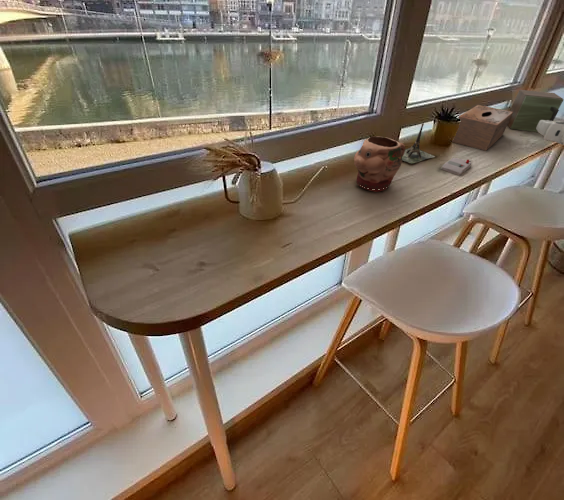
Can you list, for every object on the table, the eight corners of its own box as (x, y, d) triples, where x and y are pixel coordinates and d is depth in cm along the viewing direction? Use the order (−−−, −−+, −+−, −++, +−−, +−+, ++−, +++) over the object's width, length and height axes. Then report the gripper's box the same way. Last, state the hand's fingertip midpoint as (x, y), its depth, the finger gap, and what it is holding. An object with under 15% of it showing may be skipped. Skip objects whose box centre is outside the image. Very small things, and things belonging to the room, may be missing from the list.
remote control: (438, 170, 113) (441, 162, 111) (455, 158, 122) (459, 150, 120) (457, 177, 109) (461, 168, 107) (474, 164, 118) (477, 156, 116)
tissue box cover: (486, 150, 129) (497, 125, 123) (449, 141, 136) (458, 116, 130) (502, 135, 144) (513, 111, 138) (469, 127, 152) (477, 104, 145)
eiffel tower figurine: (413, 148, 129) (423, 112, 120) (435, 156, 123) (448, 120, 114) (388, 155, 122) (397, 119, 113) (411, 165, 115) (422, 127, 107)
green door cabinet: (544, 132, 150) (563, 98, 141) (510, 128, 153) (525, 95, 144) (537, 125, 158) (554, 92, 149) (504, 121, 161) (519, 89, 152)
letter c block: (549, 136, 145) (568, 102, 136) (513, 132, 148) (529, 99, 139) (545, 132, 149) (563, 99, 141) (510, 128, 152) (525, 95, 144)
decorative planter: (380, 169, 112) (389, 128, 103) (410, 182, 105) (423, 140, 96) (339, 184, 102) (346, 140, 93) (369, 200, 95) (380, 154, 86)
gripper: (611, 129, 119) (594, 118, 130) (548, 122, 124) (537, 112, 134) (600, 146, 123) (585, 134, 134) (540, 138, 127) (529, 128, 138)
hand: (560, 123), depth 134 cm, fingers open, 8 cm apart
